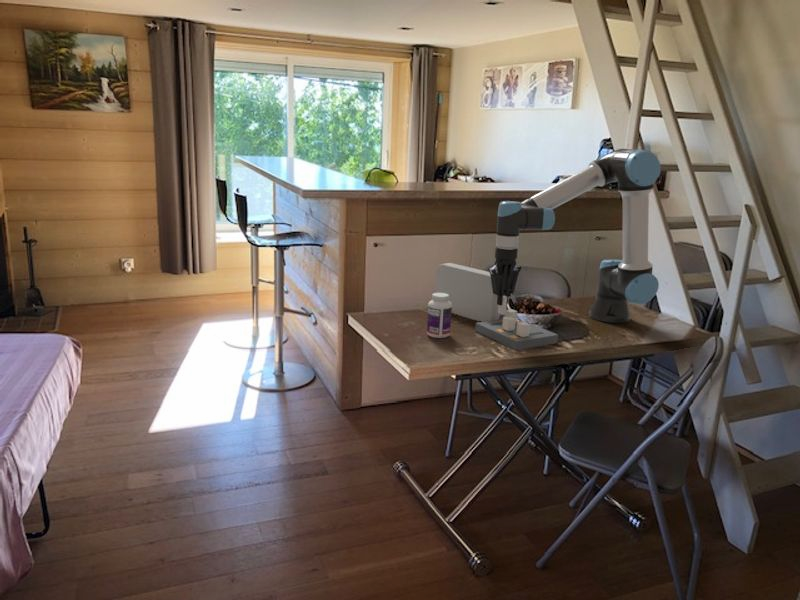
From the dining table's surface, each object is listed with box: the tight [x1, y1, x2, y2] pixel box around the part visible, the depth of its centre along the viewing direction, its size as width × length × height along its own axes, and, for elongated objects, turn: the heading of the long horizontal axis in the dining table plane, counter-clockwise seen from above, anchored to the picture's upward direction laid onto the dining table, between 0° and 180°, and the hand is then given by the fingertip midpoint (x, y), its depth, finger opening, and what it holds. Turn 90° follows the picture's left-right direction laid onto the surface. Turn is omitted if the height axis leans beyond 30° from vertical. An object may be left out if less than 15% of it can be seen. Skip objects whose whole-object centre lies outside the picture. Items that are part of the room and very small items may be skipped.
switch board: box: [474, 318, 559, 351], centre depth 216 cm, size 18×22×3 cm
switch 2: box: [516, 321, 531, 337], centre depth 208 cm, size 3×3×4 cm
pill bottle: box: [426, 292, 452, 339], centre depth 213 cm, size 8×8×14 cm
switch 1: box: [504, 308, 518, 322], centre depth 223 cm, size 3×3×4 cm
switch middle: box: [502, 316, 516, 331], centre depth 214 cm, size 3×3×4 cm
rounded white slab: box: [434, 262, 501, 322], centre depth 239 cm, size 29×8×18 cm, turn 44°
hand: (501, 313), depth 220 cm, fingers closed
